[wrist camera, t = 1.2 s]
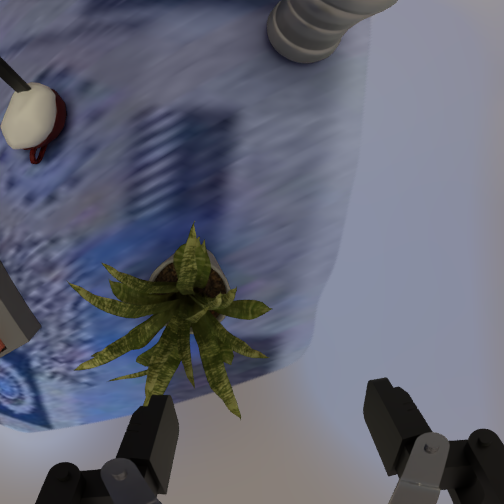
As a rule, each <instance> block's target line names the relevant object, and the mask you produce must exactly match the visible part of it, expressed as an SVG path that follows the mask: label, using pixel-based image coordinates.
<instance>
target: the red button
mask: <svg viewBox="0 0 504 504" xmlns="http://www.w3.org/2000/svg"><path fill="white" fill-rule="evenodd" d="M4 346H5V345H4V343H3V342H2V341H1V339H0V351H1V350H2V349H3V348H4Z"/></svg>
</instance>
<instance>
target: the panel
mask: <svg viewBox="0 0 504 504" xmlns="http://www.w3.org/2000/svg"><path fill="white" fill-rule="evenodd" d="M40 328H41V325H40V324H39V322H38V321H37V319H36V318H35V316H34V315H33V313H32V312H31V310H30V309H29V307H28V306H27V304H26V303H25V301H24V300H23V298H22V296H21V295H20V293H19V292H18V290H17V288H16V287H15V285H14V283H13V282H12V280H11V278H10V277H9V275H8V273H7V272H6V270H5V268H4V266H3V264H2V263H1V261H0V339H1V341H2V342H3V343H4V345H5V346H4V348H3V349H2V350H1V351H0V357H2V356H4V355H5V354H7V353H9V352H11V351H13V350H14V349H16V348H18V347H20V346H22V345H23V344H25V343H27V342H29V341H30V340H31V338H32V337H33V336H34V335H35V334H36V332H37V331H38V330H39V329H40Z"/></svg>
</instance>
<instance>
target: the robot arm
mask: <svg viewBox="0 0 504 504" xmlns="http://www.w3.org/2000/svg"><path fill="white" fill-rule="evenodd" d="M363 414H364V419H365V422H366V424H367V426H368V429H369V431H370V433H371V436H372V438H373V441H374V443H375V445H376V448H377V450H378V452H379V455H380V457H381V460H382V462H383V465H384V467H385V470H386V472H387V475H388V476H392V475H396V474H398V477H399V481H398V483H397V486H396V488H395V490H394V493H393V495H392V497H391V499H390V501H389V503H388V504H436V503H437V500H438V497H439V494H440V490H446V489H447V490H448V492H449V494H450V496H451V498H452V501H453V504H504V445H503V443H502V442H501V440H500V439H499V437H498V436H497V434H496V433H494V432H493V431H491V430H488V429H478V430H476V431H474V432H473V433H472V434H471V435H470V436H469V438H468V440H457V441H448V440H447V438H445V436H443V435H441V434H439V433H434V432H432V430H431V429H430V427H429V426H428V424H427V423H426V421H425V419H424V418H423V416H422V414H421V413H420V411H419V410H418V409H417V406H416V405H415V403H413V400H412V399H411V397H410V395H409V394H408V393H407V392H406V391H404V390H403V389H402V388H400V387H395V388H393V386H392V385H391V383H390V382H389V380H388V379H387V378H381V379H374V380H370V381H368V384H367V390H366V396H365V402H364V407H363ZM178 435H179V423H178V419H177V415H176V412H175V408H174V404H173V401H172V397H171V396H170V395H152V396H151V398H150V401H149V404H148V406H140V407H139V408H138V409H137V410H136V411H135V412H134V413H133V415H132V417H131V420H130V422H129V425H128V427H127V432H125V435H124V438H123V440H122V443H121V445H120V448H119V451H118V453H117V456H116V458H115V459H112V460H110V461H108V462H106V463H105V464H104V465H103V467H102V468H101V469H98V470H87V471H80V470H79V469H78V467H77V466H76V465H74V464H72V463H69V462H62V463H59V464H56V465H54V466H53V467H52V468H51V469H50V471H49V472H48V474H47V477H46V479H45V482H44V484H43V486H42V488H41V491H40V493H39V496H38V498H37V500H36V503H35V504H162V503H161V502H160V501H159V500H158V499H157V494H167V488H168V483H169V479H170V473H171V469H172V464H173V459H174V454H175V449H176V445H177V440H178Z"/></svg>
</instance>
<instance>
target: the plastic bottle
mask: <svg viewBox="0 0 504 504" xmlns="http://www.w3.org/2000/svg"><path fill="white" fill-rule="evenodd" d="M397 1H398V0H281V1H280V2H279V3H278V4H277V5H276V6H275V7H274V9H273V10H272V11H271V12H270V14H269V16H268V20H267V34H268V38H269V41H270V42H271V44H272V46H273V47H274V48H275V50H276V51H277V52H278V53H279V54H281V55H282V56H284V57H285V58H287V59H289V60H291V61H294V62H298V63H313V62H317V61H320V60H323V59H325V58H327V57H329V56H330V55H331V54H332V53H333V52H334V51H335V50H336V48H337V47H338V45H339V43H340V41H341V38H342V37H343V35H344V34H345V33H346V32H347V30H348V29H350V28H351V27H353V26H354V25H355V24H357V23H358V22H360V21H361V20H364V19H366V18H368V17H370V16H373V15H375V14H377V13H380V12H382V11H384V10H386V9H388V8H389V7H391V6H392V5H394V4H395V3H396V2H397Z"/></svg>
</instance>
